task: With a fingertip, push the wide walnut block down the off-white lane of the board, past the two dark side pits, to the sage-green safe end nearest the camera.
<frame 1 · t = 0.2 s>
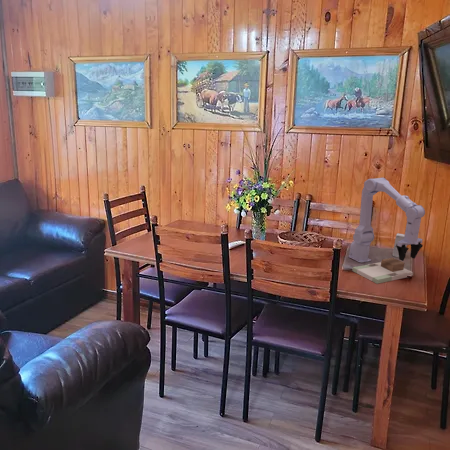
hand: (407, 258, 207), 10 cm above the table, tool pointing down, fingers open, 7 cm apart
walnut block: (391, 267, 217), point 2 cm above the table, touching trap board
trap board: (382, 273, 214), on the table
skincare box: (398, 256, 239), on the table
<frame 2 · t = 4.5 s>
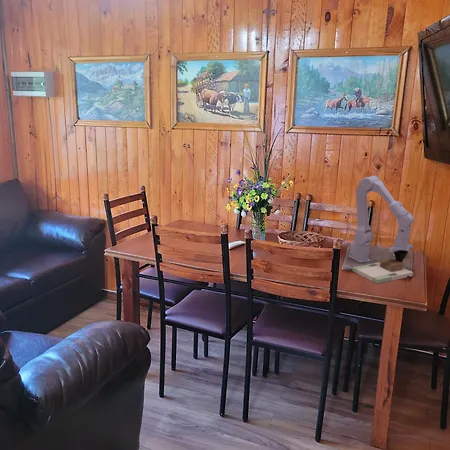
hand: (398, 264, 218), 3 cm above the table, tool pointing down, fingers closed
walnut block: (390, 268, 216), point 2 cm above the table, touching gripper, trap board
everything else where it was.
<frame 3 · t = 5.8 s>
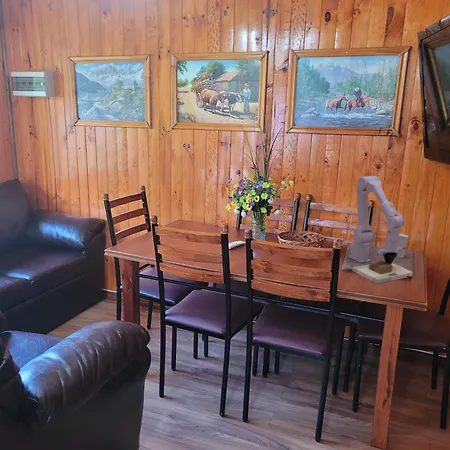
hand: (387, 266, 215), 3 cm above the table, tool pointing down, fingers closed
walnut block: (379, 270, 213), point 2 cm above the table, touching gripper
everything else where it was.
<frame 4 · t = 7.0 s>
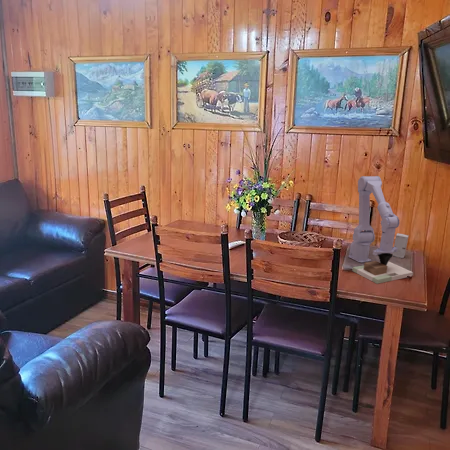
hand: (382, 267, 213), 3 cm above the table, tool pointing down, fingers closed
walnut block: (374, 271, 211), point 2 cm above the table, touching gripper, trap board
everything else where it was.
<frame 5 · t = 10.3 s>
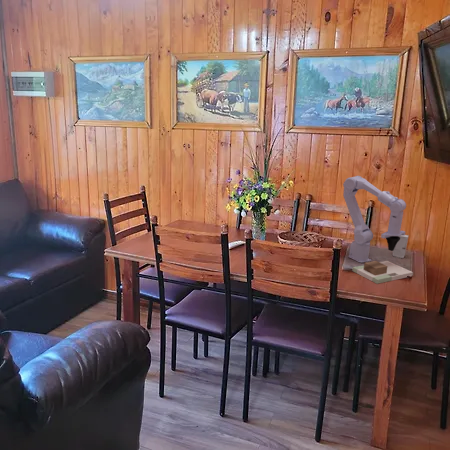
hand: (390, 250, 219), 9 cm above the table, tool pointing down, fingers closed
walnut block: (374, 271, 211), point 2 cm above the table, touching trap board
everything else where it was.
at the end: walnut block 2.8 cm from the target spot on the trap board, point 2.0 cm above the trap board's base; walnut block tilted 0°; the gripper is holding nothing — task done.
